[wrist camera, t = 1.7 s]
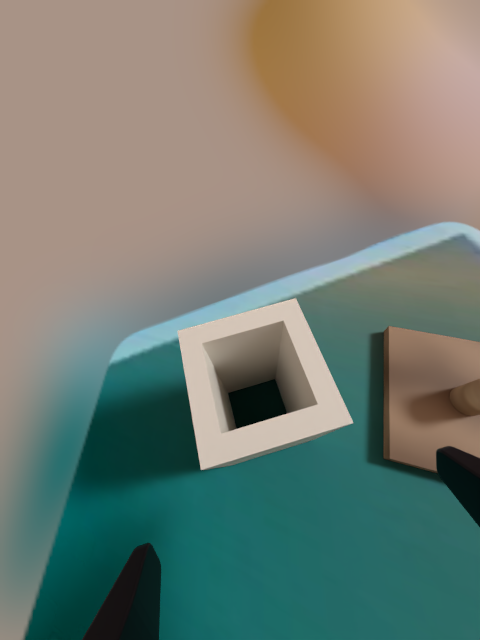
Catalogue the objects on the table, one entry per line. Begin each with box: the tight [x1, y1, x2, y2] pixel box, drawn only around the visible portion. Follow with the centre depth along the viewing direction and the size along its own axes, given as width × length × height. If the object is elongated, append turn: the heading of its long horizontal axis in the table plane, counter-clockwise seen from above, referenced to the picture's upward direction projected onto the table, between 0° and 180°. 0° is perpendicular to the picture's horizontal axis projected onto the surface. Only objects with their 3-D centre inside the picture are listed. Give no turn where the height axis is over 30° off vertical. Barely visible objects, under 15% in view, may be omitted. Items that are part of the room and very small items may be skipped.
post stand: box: [384, 326, 480, 473], centre depth 17 cm, size 10×10×4 cm
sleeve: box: [178, 298, 353, 470], centre depth 15 cm, size 6×6×10 cm
